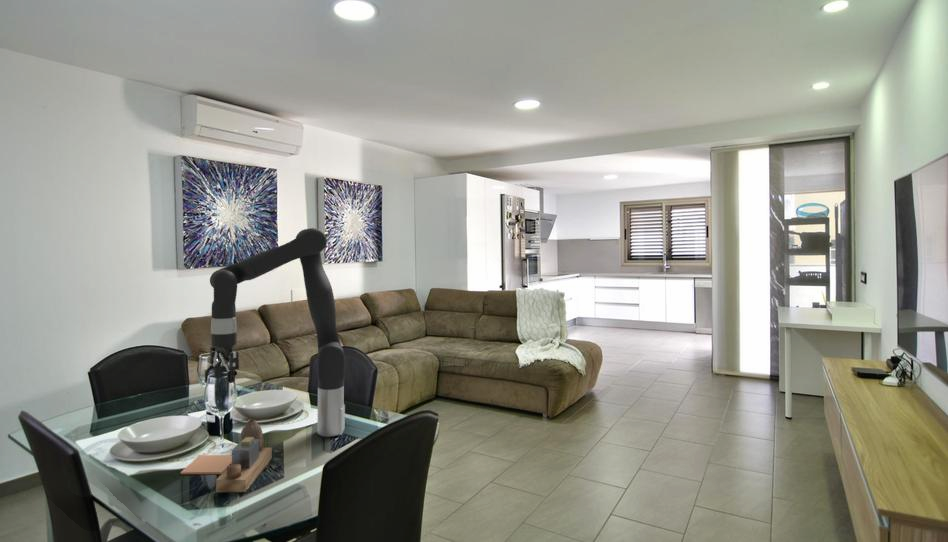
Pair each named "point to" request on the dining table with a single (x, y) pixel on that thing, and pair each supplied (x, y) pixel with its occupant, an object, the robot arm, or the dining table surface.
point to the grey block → (246, 452)
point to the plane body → (243, 473)
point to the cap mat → (208, 464)
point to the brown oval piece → (251, 430)
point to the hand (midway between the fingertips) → (224, 380)
